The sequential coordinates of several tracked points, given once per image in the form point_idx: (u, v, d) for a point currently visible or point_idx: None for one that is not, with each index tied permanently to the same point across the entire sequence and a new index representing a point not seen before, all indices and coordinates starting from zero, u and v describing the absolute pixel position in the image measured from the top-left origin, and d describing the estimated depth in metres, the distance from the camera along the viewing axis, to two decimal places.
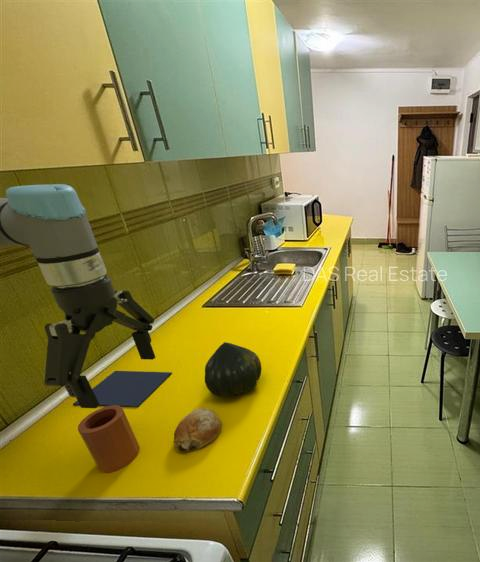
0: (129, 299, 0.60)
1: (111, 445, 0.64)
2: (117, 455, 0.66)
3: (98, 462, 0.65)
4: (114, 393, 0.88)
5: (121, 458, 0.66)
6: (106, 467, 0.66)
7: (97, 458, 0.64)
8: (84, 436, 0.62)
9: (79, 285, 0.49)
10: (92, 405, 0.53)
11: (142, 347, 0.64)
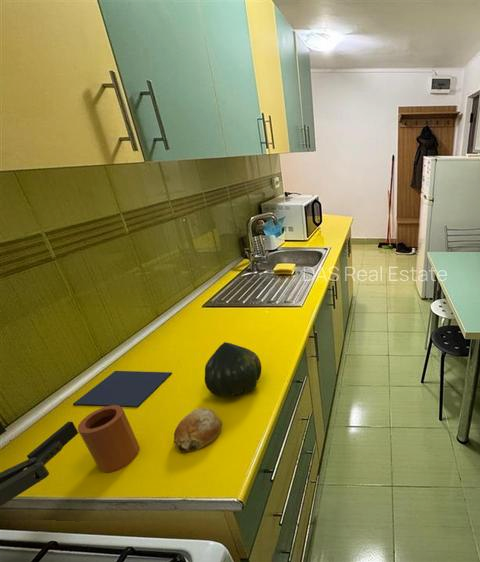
0: None
1: (111, 445, 0.64)
2: (117, 455, 0.66)
3: (98, 462, 0.65)
4: (114, 393, 0.88)
5: (121, 458, 0.66)
6: (106, 467, 0.66)
7: (97, 458, 0.64)
8: (84, 436, 0.62)
9: None
10: None
11: None
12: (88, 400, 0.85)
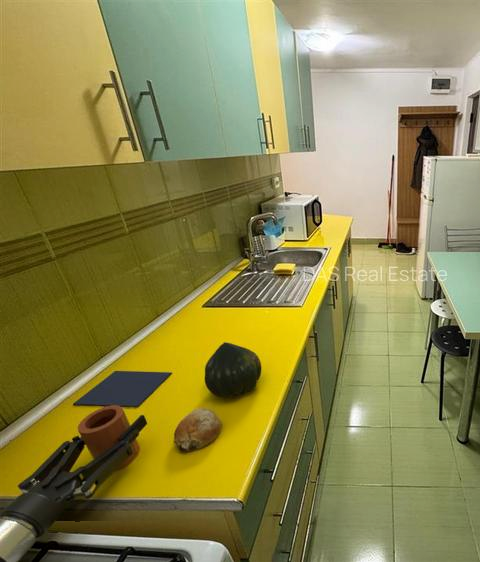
0: None
1: (111, 445, 0.64)
2: None
3: None
4: (114, 393, 0.88)
5: None
6: None
7: None
8: (84, 436, 0.62)
9: None
10: None
11: None
12: (88, 400, 0.85)
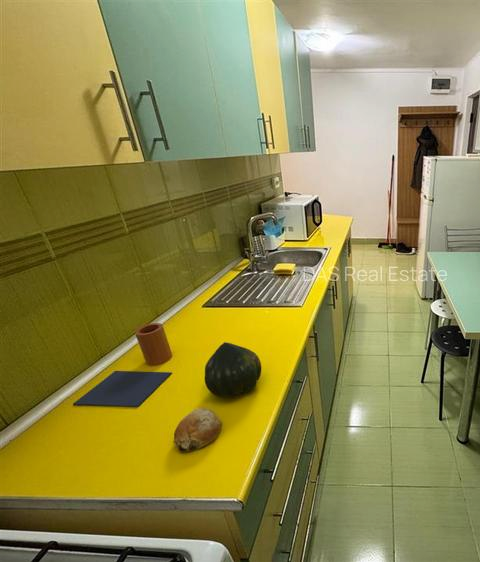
0: None
1: (162, 343, 1.00)
2: (165, 351, 1.01)
3: (152, 358, 0.99)
4: (114, 393, 0.88)
5: (167, 353, 1.02)
6: (159, 360, 1.00)
7: (153, 354, 0.98)
8: (146, 337, 0.96)
9: None
10: None
11: None
12: (88, 400, 0.85)
